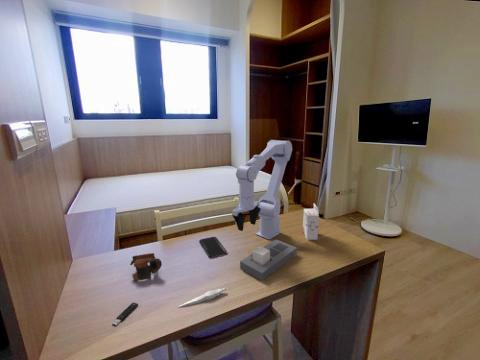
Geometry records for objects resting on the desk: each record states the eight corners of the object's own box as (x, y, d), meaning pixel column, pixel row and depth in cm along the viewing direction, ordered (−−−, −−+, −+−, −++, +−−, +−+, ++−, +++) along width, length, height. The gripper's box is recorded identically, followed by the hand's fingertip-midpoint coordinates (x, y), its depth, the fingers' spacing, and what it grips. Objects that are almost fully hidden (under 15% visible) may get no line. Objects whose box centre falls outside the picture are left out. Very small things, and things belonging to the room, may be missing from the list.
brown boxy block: (124, 282, 82) (123, 257, 84) (142, 278, 91) (141, 255, 93) (155, 278, 79) (153, 252, 81) (171, 274, 88) (169, 250, 90)
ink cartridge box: (301, 231, 116) (303, 202, 112) (312, 231, 116) (314, 202, 112) (306, 240, 108) (308, 209, 104) (317, 240, 108) (320, 208, 104)
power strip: (275, 245, 103) (276, 239, 102) (296, 254, 96) (296, 247, 96) (240, 268, 88) (240, 261, 87) (261, 280, 81) (262, 272, 80)
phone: (215, 236, 111) (227, 252, 97) (215, 238, 111) (227, 254, 98) (198, 239, 107) (208, 256, 94) (198, 242, 108) (208, 259, 94)
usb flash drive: (117, 327, 64) (116, 324, 64) (111, 325, 65) (111, 322, 64) (138, 306, 71) (138, 303, 71) (133, 304, 72) (132, 301, 72)
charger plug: (259, 260, 92) (260, 246, 90) (269, 264, 89) (269, 250, 87) (252, 265, 88) (252, 250, 87) (262, 270, 86) (262, 255, 84)
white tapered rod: (224, 289, 77) (224, 284, 77) (227, 294, 75) (227, 289, 75) (177, 306, 71) (176, 301, 71) (178, 313, 69) (178, 307, 69)
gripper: (250, 189, 104) (250, 219, 107) (226, 197, 94) (227, 230, 97) (263, 192, 99) (263, 223, 103) (239, 201, 89) (240, 235, 93)
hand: (246, 227), depth 100 cm, fingers open, 7 cm apart
